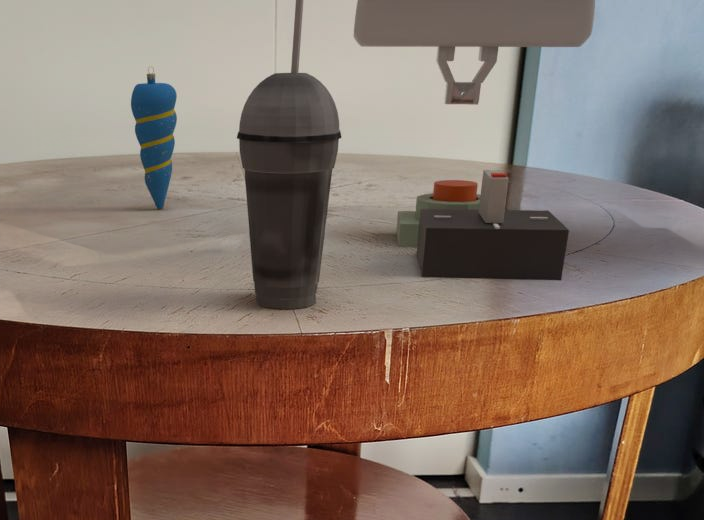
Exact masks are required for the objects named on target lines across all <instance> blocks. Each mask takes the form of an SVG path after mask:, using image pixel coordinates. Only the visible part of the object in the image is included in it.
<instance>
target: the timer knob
mask: <svg viewBox="0 0 704 520" xmlns="http://www.w3.org/2000/svg"><path fill="white" fill-rule="evenodd" d="M482 171H483V172H482V179H481V188H480V195H481V196H480V204H479V214H480V215H481V217H482V219H483V220H484V222H485V223H503V219H504V211H505V210H506V201H507V195H508V187H509V180H510V179H509V177H508V174H507V173H505V172H503V171H502V170H501V169H483V170H482Z"/></svg>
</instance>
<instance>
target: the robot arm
mask: <svg viewBox="0 0 704 520" xmlns="http://www.w3.org/2000/svg"><path fill="white" fill-rule="evenodd" d="M595 9H596V0H357V2H356V8H355V16H354V25H353V39H354V40H355V42H356V43H357V44H358V45H359V46H360V47H365V48H368V47H371V48H373V47H376V48H379V47H382V48H383V47H384V48H388V47H389V48H391V47H394V48H395V47H398V48H400V47H401V48H402V47H403V48H404V47H405V48H406V47H407V48H408V47H409V48H410V47H411V48H413V47H415V48H416V47H417V48H420V47H422V48H425V47H429V48H430V47H431V48H436V47H437V50H436V60H435V61H436V65H437V66H438V68H439V70H440V73H441V76H442V78H443V80H444V82H445V90H444V91H445V93H444V104H445V105H472V106H473V105H474V106H475V105H479V103H480V95H481V87H482V84H483V83H484V82H485V80H486V79H487V77H488V76H489V74H490V72H491V71H492V70H493V68H494V66H495V65H496V64H497V62H498V54H499V48H580V47H582V46H583V44H585V43H586V42H587V41H588V39H589V38H590V37H591V36H592V33H593V27H594V20H595V19H594V18H595ZM463 47H464V48H477V47H478V48H479V49H478V57H477V59H478V61H479V62H483V63H482V65H481V66H480V68H479V69H478V71H477V73H476V74H475V75H474V77H473V79H472V80H471V81H456V80H455V78H454V76H453V73H452V71H451V68H450V66H449V63H448V62H454V60H455V53H456V48H463Z"/></svg>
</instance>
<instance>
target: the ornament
mask: <svg viewBox="0 0 704 520" xmlns="http://www.w3.org/2000/svg"><path fill="white" fill-rule="evenodd" d="M150 68H152V70H153V71H152V73H150V72H149V70H150ZM147 72H148V73H146V81H147V82H145V83H144V82H143V83H137V84H136V85H134V88H133V90H132V92H131V98H130V108H131V112H132V116H133V118H134V121H135V125H134V134H135V136H136V139H137V142H138V144H139V146H140V150H139V153H140V154H139V158H140V161H141V165H142V167H143V170H144V184H145V186H146V188H147V190H148V192H149V194H150V196H151V198H152V201H153V202H154V205H155V207H156V209H157V210H162V209H164V207H165V202H166V198H167V194H168V191H169V186H170V182H171V180H172V179H171V178H172V174H173V161H172V156H173V153H174V150H175V144H176V140H175V136H174V133H175V129H176V127H177V121H178V117H177V112H176V110H175V107H176V103H177V96H178V95H177V91H176V89H175V88H174V87H173V85H171V84H170V83H167V82H166V83H165V82H156V73H154V72H155V69H154V68H153V66H149V67H148V68H147Z"/></svg>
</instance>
